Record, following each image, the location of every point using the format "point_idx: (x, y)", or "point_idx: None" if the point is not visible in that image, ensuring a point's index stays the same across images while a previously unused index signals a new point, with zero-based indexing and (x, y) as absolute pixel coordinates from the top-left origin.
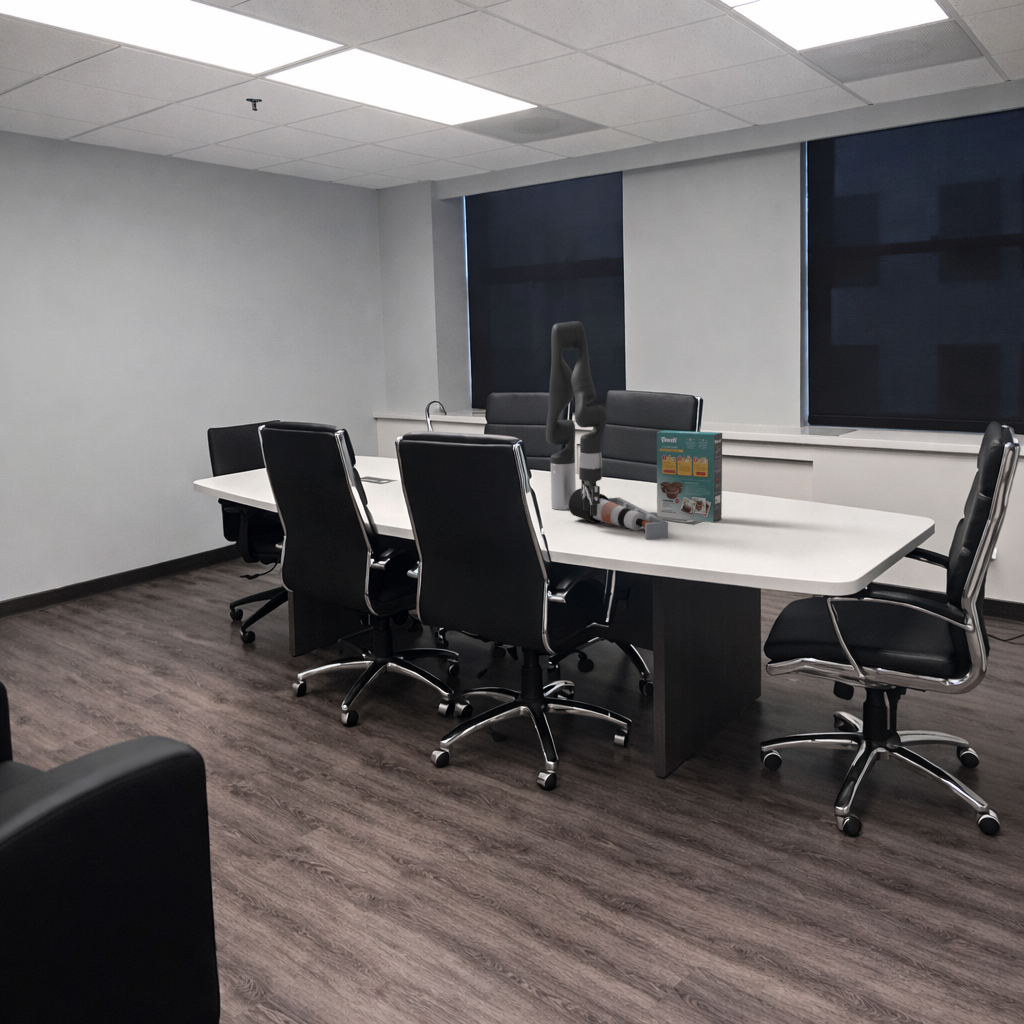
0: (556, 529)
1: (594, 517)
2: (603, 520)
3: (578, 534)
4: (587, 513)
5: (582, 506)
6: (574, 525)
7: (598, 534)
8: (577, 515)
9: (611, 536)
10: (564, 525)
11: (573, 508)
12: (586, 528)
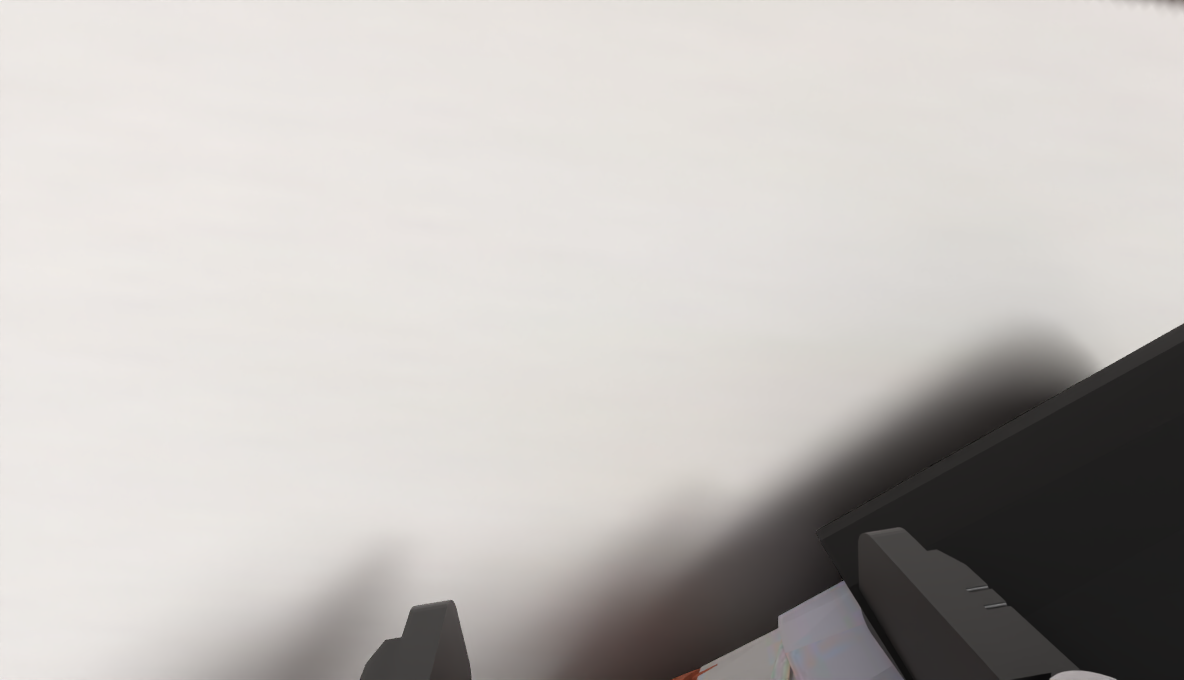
0: (602, 23)
1: (818, 596)
2: (682, 675)
3: (206, 299)
4: (857, 547)
5: (1031, 540)
6: (800, 308)
7: (190, 539)
8: (1058, 394)
9: (59, 667)
10: (840, 177)
11: (1182, 371)
12: (581, 434)
